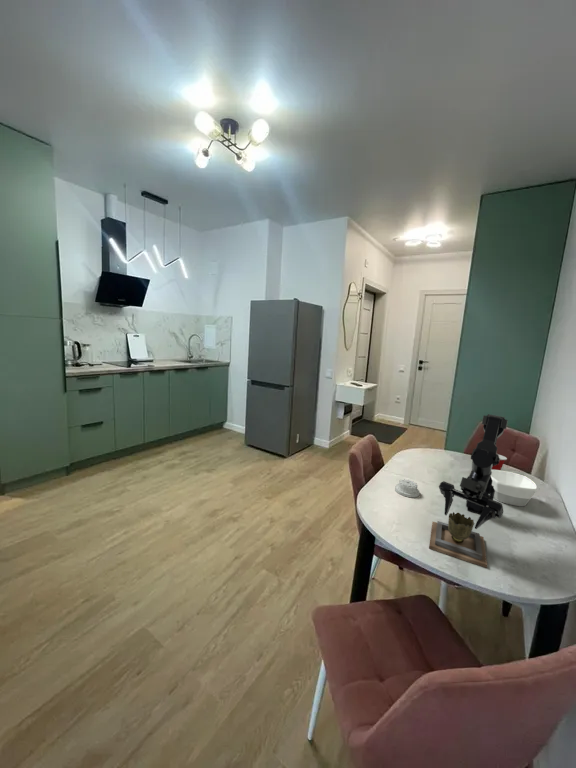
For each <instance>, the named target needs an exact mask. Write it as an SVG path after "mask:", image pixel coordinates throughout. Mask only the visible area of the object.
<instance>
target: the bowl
mask: <svg viewBox="0 0 576 768" xmlns="http://www.w3.org/2000/svg"><path fill="white" fill-rule="evenodd" d="M491 471H492V474H491V478H492V486H494V487H493V488H494V490H495V493H494V498H493V499H495V501H496V500H497V502H499V503H502V504H503V503H504V504H506V505H510V506H517V507H525V506H526V505H527V504H528V502H529V501H530V500H531V499H532V497H534V495H535V494H536V493H537V491H538V486H537V484H536V483H535V482H534V481H533V480H532V479H531V478H529V477H527V476H526V475H522V474H519V473H516V472H512V471H508V470H502V469H501V470H491Z"/></svg>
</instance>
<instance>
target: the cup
mask: <svg viewBox="0 0 576 768" xmlns="http://www.w3.org/2000/svg"><path fill="white" fill-rule="evenodd" d="M447 524H448V529H449V532H450V534H451V535H452V536H451V537H452V540H453V541H455V542H457V543H463V541H464V539H467V538H468V537H469V536H470V534H471V531H472V532H473V529H474V527H475V521H474V519H472V517H470V516H469V517H465V514H464V513H462V514H461V513H460V512H456V513H455V512H454V511H453V512H450V513H449V515H448V523H447Z"/></svg>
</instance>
